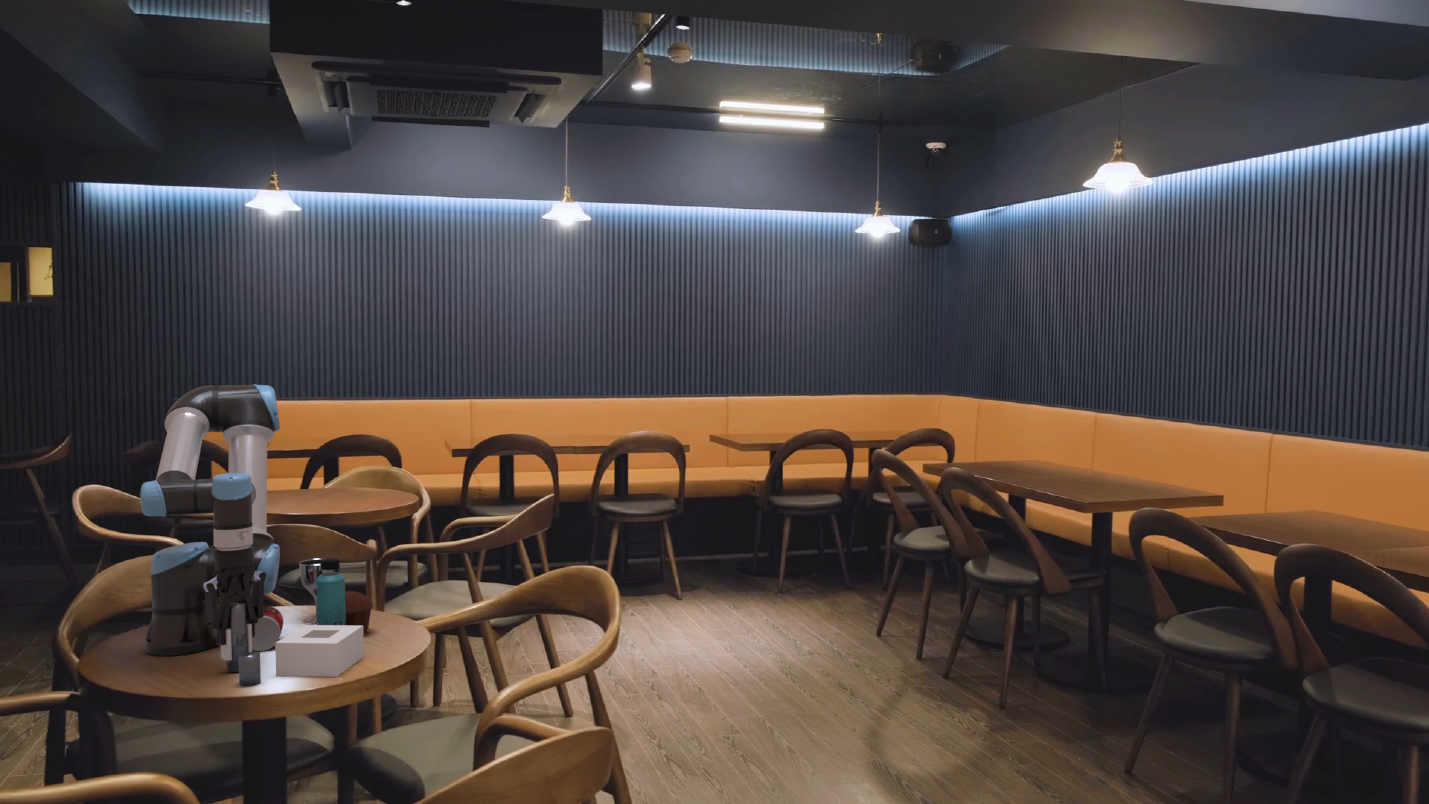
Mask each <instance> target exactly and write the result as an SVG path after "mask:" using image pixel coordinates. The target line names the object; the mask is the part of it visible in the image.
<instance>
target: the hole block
mask: <svg viewBox="0 0 1429 804" xmlns="http://www.w3.org/2000/svg"><path fill="white" fill-rule="evenodd" d="M364 638H365V637H364V636H363V626H351V625H317V624H305V625H304V626H302V627H300V628H298V629H296V630H294V631H293V632H292V633H290V634H288V635H286V636H284V637H283V638H281V639H279V640H278V642H276V643H275V645H274V647H275V676H276V677H315V678H316V677H322V678H323V677H326V678H329V677H330V678H331V677H332V678H334V677H335V678H337V677H339V676H341V675H342V674H343V673H344V672H346V671H347V670H348V669H350V668H351V667H352V666H354V665H355V664H356V663H358V662H359V661H360V660H362V659H364V656H365V645H364V644H365V641H364ZM361 658H362V659H361ZM357 661H358V662H357ZM353 664H354V665H353ZM349 667H350V668H349ZM345 670H346V671H345ZM341 673H342V674H341Z"/></svg>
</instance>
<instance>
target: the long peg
mask: <svg viewBox="0 0 1429 804" xmlns="http://www.w3.org/2000/svg"><path fill="white" fill-rule="evenodd" d="M227 628H228V629H231V649H232V660H229V661H227V660H225V661H226V671H227V672H239V655H240V654H242V653H246V652H247V631H246V602H243V601H240V600H235V601H234V600H233V601H231V607H230V613H229V619H228V626H227Z"/></svg>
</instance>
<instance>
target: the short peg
mask: <svg viewBox="0 0 1429 804" xmlns="http://www.w3.org/2000/svg"><path fill="white" fill-rule="evenodd" d="M261 671H262V670H261V652H260V651H252V652H246V653H242V654H240V655H239V671H238V685H240V687H242V688H243V687H244V688H248V687H254V686H255V687H256V686H259V685H260V684H261V682H262V680H261V679H262V677H261Z"/></svg>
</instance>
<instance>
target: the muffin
mask: <svg viewBox="0 0 1429 804" xmlns="http://www.w3.org/2000/svg"><path fill="white" fill-rule="evenodd" d="M345 592H346V596H345V605H346V618H347V625H351V626H363V635H364V634H365V633H366V632H368V633H369V625H370V618H371V612H372V611H371V610H372V608H373V607H374V603H373V602H372V600H371V599H370V598H369V596H367V595H365V594H363V593H361V592H359V591H354V590H353V591H352V590H347V591H346V590H345ZM366 634H367V633H366ZM366 634H365V635H366ZM365 635H364V636H365Z"/></svg>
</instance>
